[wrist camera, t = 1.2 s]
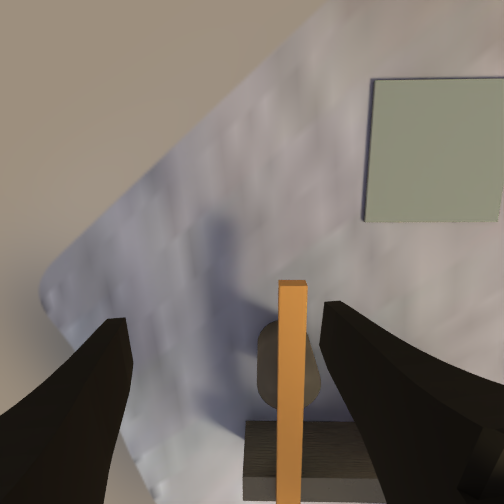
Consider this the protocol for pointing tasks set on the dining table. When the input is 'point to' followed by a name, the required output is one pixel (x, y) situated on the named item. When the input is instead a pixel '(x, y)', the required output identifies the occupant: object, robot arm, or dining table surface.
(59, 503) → the robot arm
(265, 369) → the plug
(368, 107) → the dining table surface
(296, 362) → the bar
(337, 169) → the dining table surface
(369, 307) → the dining table surface
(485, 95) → the mat
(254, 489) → the clamp rail
